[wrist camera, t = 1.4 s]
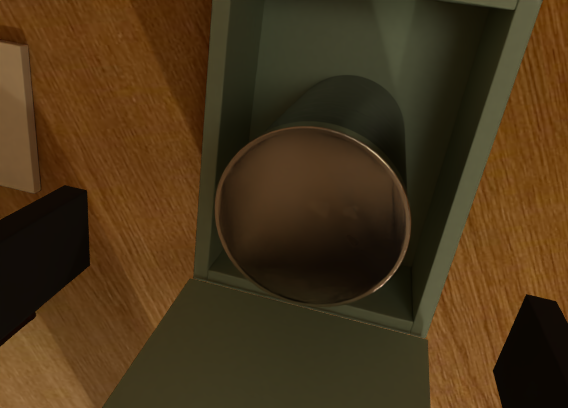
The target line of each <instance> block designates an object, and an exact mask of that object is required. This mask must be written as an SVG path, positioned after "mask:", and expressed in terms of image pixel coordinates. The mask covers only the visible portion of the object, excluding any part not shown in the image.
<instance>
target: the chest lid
mask: <svg viewBox="0 0 568 408" xmlns="http://www.w3.org/2000/svg"><path fill="white" fill-rule="evenodd" d="M102 408H430V386H429V361H428V340H426V339H422V338H418V337H415V336H411V335H407V334H403V333H399V332H395V331H391V330H388V329H384V328H380V327H376V326H372V325H368V324H364V323H361V322H357V321H353V320H349V319H345V318H341V317H337V316H334V315H330V314H326V313H322V312H318V311H314V310H310V309H307V308H303V307H299V306H295V305H291V304H287V303H283V302H280V301H276V300H272V299H268V298H264V297H260V296H257V295H253V294H249V293H245V292H241V291H237V290H233V289H230V288H226V287H222V286H218V285H214V284H210V283H206V282H203V281H199V280H195V279H191V278H190V279H189V280H188V282H187V283H186V285H185V286H184V288H183V289H182V291H181V292H180V294H179V295H178V297H177V298H176V300H175V301H174V303H173V304H172V305H171V307H170V308H169V310H168V311H167V313H166V314H165V316H164V317H163V319H162V320H161V322H160V323H159V325H158V326H157V328H156V329H155V331H154V332H153V333H152V335H151V336H150V338H149V339H148V341H147V342H146V344H145V345H144V347H143V348H142V350H141V351H140V353H139V354H138V356H137V357H136V358H135V360H134V361H133V363H132V364H131V366H130V367H129V369H128V370H127V372H126V373H125V375H124V376H123V378H122V379H121V381H120V382H119V384H118V385H117V386H116V388H115V389H114V391H113V392H112V394H111V395H110V397H109V398H108V400H107V401H106V403H105V404H104V406H103V407H102Z"/></svg>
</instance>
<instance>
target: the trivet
mask: <svg viewBox="0 0 568 408" xmlns="http://www.w3.org/2000/svg"><path fill="white" fill-rule="evenodd" d="M0 185H1V186H5V187H9V188H13V189H17V190H21V191H25V192H29V193H33V194H34V193H37V192H38V191H40V190H41V185H40V174H39V163H38V152H37V140H36V129H35V118H34V107H33V96H32V85H31V74H30V62H29V51H28V45H26V44H21V43H16V42H10V41H5V40H0Z"/></svg>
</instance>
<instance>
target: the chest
mask: <svg viewBox="0 0 568 408" xmlns="http://www.w3.org/2000/svg"><path fill="white" fill-rule="evenodd" d="M542 1H543V0H212V13H211V28H210V42H209V57H208V71H207V86H206V101H205V115H204V130H203V144H202V159H201V173H200V188H199V203H198V217H197V232H196V246H195V261H194V276H193V278H194V279H197V280H201V281H205V282H207V281H208V282H209V283H212V284H216V285H220V286H224V287H228V288H232V289H236V290H239V291H243V292H247V293H251V294H255V295H259V296H263V297H266V298H270V299H274V300H278V301H282V302H286V301H283V300H280V299H278V298H276V297H274V296H271V295H270V294H268V293H266V292H264V291H263V290H261V289H259V288H258V287H257V286H255V285H254V284H253V283H251V282H250V281H249V280H248V279H247V278H246V277H245V276H243V275H242V273H241V272H240V271H239V270H238V269H237V268H236V267H235V265H234V264H233V263H232V261H231V260H230V258H229V257H228V255H227V253H226V251H225V249H224V248H223V245H222V243H221V240H220V238H219V235H218V231H217V227H216V221H215V197H216V191H217V188H218V184H219V181H220V178H221V176H222V174H223V172H224V170H225V168H226V167H227V165H228V164H229V162H230V161H231V159H232V158H233V157H234V156H235V155H236V154H237V153H238V152H239V151H240V150H241V149H242V148H243V147H244V146H245V145H246V144H247V143H249V142H250V141H251V140H252V139H254V138H255V137H257V136H258V135H260V134H261V133H263V132H264V131H265V130H266V129H267V128H268V127H269V126H270V125H271V124H272V123H273V122H274V121H276V120H277V119H278V118H279V117H280V116H281V115H282V114H283V113H284V112H285V111H286V110H287V109H288V108H289V107H290V106H291V105H292V104H294V103H295V102H296V101H297V100H298V99H299V98H300V97H301V96H302V95H303V94H304V93H305V92H306V91H307V90H309V89H310V88H311V87H312V86H313V85H315V84H317V83H318V82H320V81H322V80H324V79H327V78H330V77H333V76H339V75H355V76H360V77H364V78H367V79H370V80H372V81H374V82H376V83H378V84H379V85H381V86H382V87H383V88H385V89H386V90H387V91H388V92H389V93H390V94H391V95H392V97H393V98H394V99H395V101H396V102H397V104H398V106H399V107H400V110H401V112H402V115H403V119H404V124H405V142H406V170H407V193H408V197H409V201H410V209H411V236H410V240H409V245H408V248H407V251H406V254H405V256H404V259H403V260H402V262H401V264H400V266H399V268H398V269H397V270H396V272H395V273H394V274H393V276H392V277H391V278H390V279H389V280H388V281H387V282H386V283H385V284H384V285H383V286H381V287H380V288H379V289H377V290H376V291H375V292H373V293H372V294H370V295H368V296H366V297H364V298H362V299H360V300H357V301H355V302H352V303H348V304H344V305H341V306H333V307H308V306H301V305H297V304H294V305H297V306H301V307H305V308H309V309H313V310H317V311H321V312H324V313H328V314H332V315H336V316H340V317H344V318H348V319H351V320H355V321H359V322H363V323H367V324H371V325H375V326H378V327H382V328H386V329H390V330H394V331H398V332H402V333H405V334H409V333H410V335H413V336H417V337H421V338H426V336H427V333H428V330H429V327H430V324H431V321H432V318H433V315H434V313H435V310H436V307H437V304H438V301H439V298H440V295H441V292H442V289H443V287H444V284H445V281H446V278H447V275H448V272H449V269H450V266H451V263H452V261H453V258H454V255H455V252H456V249H457V246H458V243H459V240H460V237H461V235H462V232H463V229H464V226H465V223H466V220H467V217H468V214H469V211H470V209H471V206H472V203H473V200H474V197H475V194H476V191H477V188H478V185H479V183H480V180H481V177H482V174H483V171H484V168H485V165H486V162H487V159H488V157H489V154H490V151H491V148H492V145H493V142H494V139H495V136H496V133H497V131H498V128H499V125H500V122H501V119H502V116H503V113H504V110H505V107H506V105H507V102H508V99H509V96H510V93H511V90H512V87H513V84H514V81H515V79H516V76H517V73H518V70H519V67H520V64H521V61H522V58H523V55H524V53H525V50H526V47H527V44H528V41H529V38H530V35H531V32H532V29H533V27H534V24H535V21H536V18H537V15H538V12H539V9H540V6H541V3H542ZM286 303H289V302H286ZM290 304H292V303H290Z"/></svg>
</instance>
